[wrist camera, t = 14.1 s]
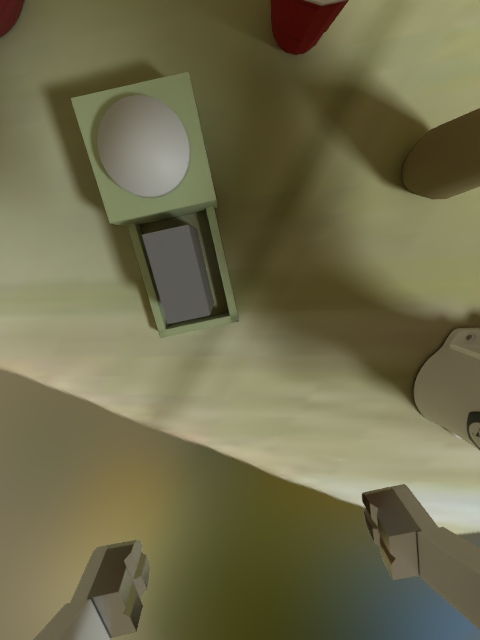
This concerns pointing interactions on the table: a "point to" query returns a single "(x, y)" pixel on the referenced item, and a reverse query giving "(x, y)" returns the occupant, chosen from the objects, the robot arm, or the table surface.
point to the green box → (152, 171)
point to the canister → (9, 14)
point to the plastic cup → (302, 22)
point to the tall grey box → (179, 273)
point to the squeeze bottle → (445, 159)
